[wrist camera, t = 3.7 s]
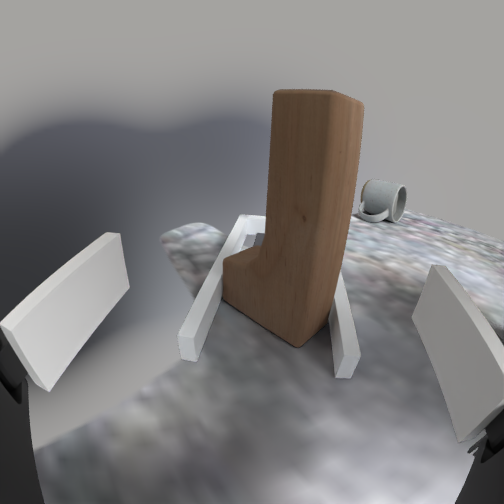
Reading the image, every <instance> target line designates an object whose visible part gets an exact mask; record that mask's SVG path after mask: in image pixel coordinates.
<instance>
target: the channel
mask: <svg viewBox="0 0 504 504" xmlns="http://www.w3.org/2000/svg"><path fill="white" fill-rule="evenodd" d="M265 221H266V217H265V216H254V215H242V214H241V215H240V216H239V218H238V220H237V222H236V224H235V226H234V227H233V229H232V231H231V233H230V235H229V236H228V238H227V240H226V242H225V244H224V246H223V248H222V249H221V251H220V253H219V255H218V257H217V259H216V261H215V263H214V264H213V266H212V268H211V270H210V272H209V274H208V276H207V278H206V280H205V281H204V283H203V285H202V287H201V289H200V291H199V293H198V295H197V297H196V299H195V301H194V303H193V305H192V307H191V308H190V310H189V312H188V314H187V316H186V318H185V320H184V322H183V324H182V326H181V328H180V330H179V332H178V334H177V339H178V345H179V350H180V355H181V359H183V360H187V361H192V362H197V360H198V358H199V355H200V353H201V350H202V347H203V345H204V342H205V340H206V337H207V334H208V332H209V329H210V327H211V324H212V321H213V319H214V316H215V314H216V311H217V309H218V306H219V304H220V301H221V298H222V296H223V259H224V258H226V257H228V256H231V255H233V254H236V253H238V252H240V250H241V248H242V245H243V243H244V240H245V238H246V235H247V234H250V235H257V236H256V239H255V242H254V245H253V246H256V245H259V246H261V245H262V242H263V239H264V236H265ZM329 326H330V334H331V343H332V352H333V362H334V373H335V378H351V377H352V375H353V372H354V370H355V368H356V366H357V364H358V362H359V359H360V357H361V353H360V349H359V344H358V339H357V334H356V330H355V326H354V321H353V317H352V313H351V308H350V304H349V300H348V296H347V292H346V289H345V285H344V281H343V277H342V274H341V270H340V274H339V278H338V283H337V287H336V291H335V295H334V299H333V303H332V307H331V311H330V314H329Z"/></svg>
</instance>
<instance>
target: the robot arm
mask: <svg viewBox="0 0 504 504" xmlns="http://www.w3.org/2000/svg"><path fill="white" fill-rule="evenodd" d="M129 288H130V286H129V281H128V276H127V271H126V266H125V260H124V255H123V249H122V243H121V237H120V233H109V232H106V233H105V234H103V235H102V236H101V237H99V238H98V239H97V240H95V241H94V242H93V243H91V244H90V245H89V246H88V247H86V248H85V249H83V250H82V251H81V252H80V253H78V254H77V255H76V256H75V257H73V258H72V259H71V260H69V261H68V262H67V263H66V264H64V265H63V266H62V267H61V268H60V269H58V270H57V271H56V272H55V273H54V274H52V275H51V276H50V277H49V278H48V279H46V280H45V281H44V282H43V283H42V284H41V285H39V286H38V287H37V288H36V289H34V290H33V291H32V292H31V293H30V294H29V295H28V296H27V297H26V298H24V299H23V300H22V302H20V304H18V305H17V306H16V307H15V308H14V309H13V310H12V311H11V312H10V313H9V314H8V315H7V316H6V317H5V318H4V319H3V320H2V321H1V322H0V504H45V503H44V500H43V496H42V492H41V488H40V484H39V480H38V475H37V470H36V465H35V460H34V454H33V447H32V439H31V431H30V419H29V402H28V383H27V380H26V379H25V376H26V375H27V374H29V375H30V377H31V378H32V379H33V381H34V382H35V384H36V385H38V386H40V387H41V388H43V389H45V390H46V391H48V392H50V391H51V389H52V388H53V386H54V384H55V383H56V382H57V381H58V379H59V377H60V376H61V375H62V373H63V372H64V370H65V369H66V368H67V366H68V365H69V363H70V362H71V361H72V360H73V358H74V357H75V356H76V354H77V353H78V352H79V350H80V349H81V348H82V346H83V345H84V344H85V342H86V341H87V340H88V338H89V337H90V336H91V335H92V333H93V332H94V331H95V329H96V328H97V327H98V326H99V324H100V323H101V322H102V321H103V319H104V318H105V317H106V316H107V314H108V313H109V312H110V311H111V309H112V308H113V307H114V306H115V305H116V303H117V302H118V301H119V300H120V299H121V297H122V296H123V295H124V294H125V293H126V291H127V290H128V289H129ZM411 318H412V320H413V322H414V324H415V326H416V329H417V331H418V333H419V335H420V337H421V340H422V342H423V344H424V347H425V349H426V351H427V354H428V356H429V359H430V361H431V364H432V366H433V369H434V371H435V374H436V376H437V379H438V382H439V384H440V387H441V390H442V393H443V396H444V398H445V401H446V404H447V407H448V411H449V414H450V417H451V420H452V423H453V427H454V430H455V434H456V437H457V441H458V443H460V442H464V441H467V440H470V439H473V438H475V437H476V436H477V435H478V434H479V433H480V432H481V431H482V430H483V429H485V430H486V433H487V434H486V435H485V436H484V437H483V438H481V439H480V440H479V441H478V442H477V443H476V444H474V445H473V446H472V447H471V448H470V449H469V451H468V452H467V453H469V454H470V453H471V452H472V451H473V450H475V449H476V448H477V447H479V448H478V450H477V451H476V452H475V453H474V454H473V456H475V459H474V462H473V464H472V467H471V469H470V472H469V474H468V476H467V479H466V481H465V483H464V485H463V488H462V490H461V492H460V494H459V496H458V498H457V500H456V502H455V504H504V340H502V339H501V338H500V337H499V336H498V335H497V334H496V333H495V331H494V330H493V328H492V327H491V325H490V324H489V322H488V321H487V320H486V318H485V317H484V315H483V314H482V312H481V311H480V310H479V308H478V307H477V305H476V304H475V303H474V301H473V300H472V299H471V297H470V296H469V295H468V293H467V292H466V291H465V290H464V288H463V287H462V286H461V284H460V283H459V282H458V281H457V279H456V278H455V277H454V276H453V275H452V273H451V272H450V271H449V270H448V268H447V267H446V266H441V265H431V268H430V271H429V274H428V277H427V280H426V282H425V285H424V288H423V290H422V293H421V295H420V298H419V300H418V303H417V305H416V308H415V310H414V312H413V315H412V317H411Z"/></svg>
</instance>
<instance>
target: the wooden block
mask: <svg viewBox="0 0 504 504" xmlns="http://www.w3.org/2000/svg"><path fill="white" fill-rule="evenodd" d="M363 116H364V105H363V103H362V102H360V101H358V100H355V99H353V98H351V97H349V96H346V95H344V94H341V93H339V92H336V91H333V90H314V89H313V90H311V89H281V90H277V91H275V92H274V94H273V105H272V124H271V141H270V158H269V174H268V192H267V206H266V221H265V236H264V239H263V242H262V245H261V246H259V245H256V246H253V247H251V248H248V249H246V250H243V251H241V252H238V253H236V254H233V255H231V256H228V257H226V258H224V259H223V298H224V300H225V301H226V302H228V303H229V304H230V305H232V306H233V307H235V308H236V309H238V310H239V311H241V312H242V313H244V314H245V315H247V316H248V317H250V318H251V319H253V320H254V321H256V322H257V323H259V324H260V325H262V326H263V327H265V328H266V329H268V330H269V331H271V332H273V333H274V334H276V335H277V336H279V337H280V338H282V339H283V340H285V341H287V342H288V343H290V344H291V345H293V346H295V347H298V348H299V347H301V346H302V345H303V344H304V343H305V342H307V341H308V340H309V339H310V338H311V337H312V336H313V335H315V334H316V333H317V332H318V331H319V330H320V329H321V328H322V327H323V326H325V325H326V324H327V322H328V318H329V314H330V311H331V307H332V303H333V299H334V295H335V291H336V287H337V283H338V278H339V274H340V269H341V265H342V260H343V255H344V250H345V245H346V240H347V235H348V230H349V224H350V219H351V213H352V207H353V201H354V194H355V187H356V180H357V173H358V165H359V156H360V148H361V139H362V128H363Z"/></svg>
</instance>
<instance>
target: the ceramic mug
mask: <svg viewBox="0 0 504 504" xmlns="http://www.w3.org/2000/svg"><path fill="white" fill-rule="evenodd" d="M406 201H407V190H406V187H405V186H404V185H402V184H397V183H392V182H387V181H383V180H378V179H371V180H369V181H367V182H366V183H365V185H364V186H363V189H362V192H361V204H360V205H359V215H360V217H361V218H362V219H363V220H365V221H367V222H380V221H382V220H384V219H386V220H389V221H391V222H394V223H397V222H398V221H399V220H400V219H401V217H402V215H403V213H404V210H405V207H406ZM363 209H364V210H365V211H367V212H369V213H371V214H373V215H367V214H364V213H363V212H362V210H363Z"/></svg>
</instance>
